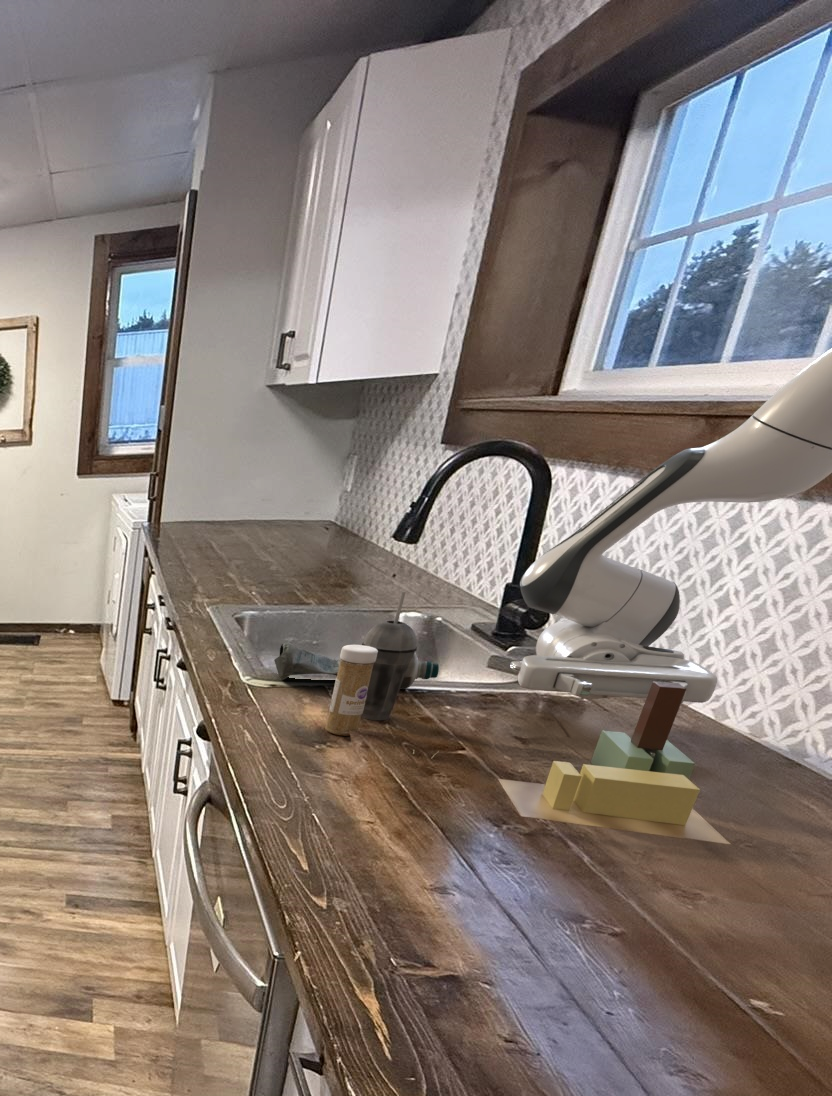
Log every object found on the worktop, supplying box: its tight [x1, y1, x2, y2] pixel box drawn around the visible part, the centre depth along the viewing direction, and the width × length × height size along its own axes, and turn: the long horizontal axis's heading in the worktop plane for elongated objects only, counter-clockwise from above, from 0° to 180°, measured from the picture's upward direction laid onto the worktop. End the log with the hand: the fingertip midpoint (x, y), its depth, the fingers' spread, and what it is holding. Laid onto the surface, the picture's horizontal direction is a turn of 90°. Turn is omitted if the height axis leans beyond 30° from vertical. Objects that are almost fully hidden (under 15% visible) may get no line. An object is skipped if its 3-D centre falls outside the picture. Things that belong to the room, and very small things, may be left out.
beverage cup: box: [361, 591, 418, 721], centre depth 130 cm, size 7×7×20 cm
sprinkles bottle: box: [324, 644, 378, 737], centre depth 125 cm, size 5×5×13 cm
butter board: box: [497, 778, 731, 845], centre depth 98 cm, size 18×12×2 cm, turn 63°
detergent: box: [273, 641, 440, 690], centre depth 148 cm, size 13×7×25 cm
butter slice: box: [542, 760, 582, 811], centre depth 99 cm, size 2×4×4 cm, turn 153°
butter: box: [573, 763, 701, 825], centre depth 96 cm, size 9×4×4 cm, turn 63°
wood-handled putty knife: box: [631, 681, 686, 759], centre depth 103 cm, size 2×5×14 cm, turn 153°
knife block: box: [590, 730, 696, 780], centre depth 104 cm, size 6×10×6 cm, turn 153°
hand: (629, 694), depth 110 cm, fingers open, 8 cm apart
